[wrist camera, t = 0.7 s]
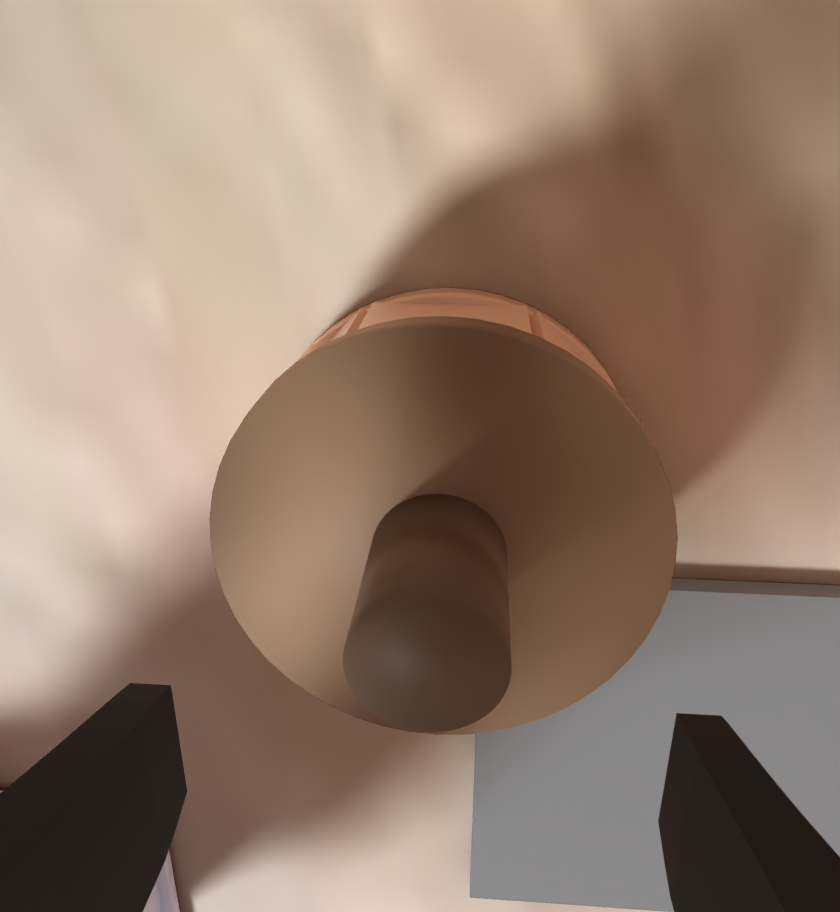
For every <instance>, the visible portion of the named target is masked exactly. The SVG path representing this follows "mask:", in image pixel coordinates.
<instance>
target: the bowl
mask: <svg viewBox="0 0 840 912" xmlns="http://www.w3.org/2000/svg"><path fill="white" fill-rule="evenodd" d="M430 316H451V317H463V318H474V319H480V320H485V321H489V322H494V323H499V324H503V325H508V326H511V327H514V328H517V329H519V330H522V331H525V332H528V333H530V334H533V335H536V336H539V337H541V338H543V339H545V340H547V341H549V342H551V343H553V344H554V345H556V346H558V347H560V348H562V349H564V350H566V351H568V352H569V353H571V354H572V355H574V356H575V357H577V358H578V359H579V360H581V361H582V362H584V363H585V364H587V365H588V366H589V367H591V368H592V369H594V370H595V371H596V372H597V373H598V374H599V375H600V376H601V377H602V378H603V379H604V380H606V381H607V382H608V383H609V384H610V385H611V386H612V387H613V388H614V389H615V390H616V388H615V386H614V384H613V382H612V381H611V379H610V377H609V376H608V374H607V372H606V371H605V369H604V367H603V366H602V364H601V363H600V362H599V361H598V359H597V358H596V357H595V356H594V354H593V353H592V352H591V351H590V350H589V348H588V347H587V346H586V345H585V344H584V343H583V342H581V341H580V340H579V339H578V338H577V337H576V336H575V335H574V334H573V333H572V332H571V331H570V330H568V329H567V328H566V327H564V326H563V325H561V324H560V323H558V322H557V321H556V320H554V319H553V318H551V317H550V316H548V315H546V314H544V313H543V312H541V311H539V310H537V309H535V308H533V307H531V306H529V305H527V304H525V303H522V302H519V301H516V300H514V299H511V298H508V297H505V296H503V295H498V294H494V293H489V292H485V291H480V290H473V289H461V288H433V289H422V290H416V291H411V292H405V293H400V294H397V295H393V296H390V297H387V298H384V299H381V300H378V301H375V302H373V303H371V304H369V305H367V306H365V307H361V308H360V309H358V310H356V311H354V312H353V313H351V314H350V315H348V316H346V317H345V318H343V319H342V320H340V321H339V322H337V323H336V324H334V325H333V326H332V327H331V328H330V329H328V330H327V331H326V332H325V333H324V334H323V335H322V336H320V337H319V338H318V339H317V340H316V341H315V342H314V343H313V344H312V345H311V347H310V348H309V349H308V350H307V351H306V352H305V354H304V355H303V356H302V357H301V358H300V359H302V358H303V357H305V356H306V355H308V354H309V353H311V352H312V351H314V350H315V349H317V348H318V347H320V346H321V345H324V344H326V343H328V342H330V341H332V340H334V339H336V338H338V337H341V336H343V335H345V334H347V333H349V332H352V331H355V330H358V329H362V328H365V327H368V326H371V325H374V324H378V323H382V322H387V321H393V320H399V319H404V318H410V317H430ZM616 391H617V390H616Z"/></svg>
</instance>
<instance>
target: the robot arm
mask: <svg viewBox="0 0 840 912" xmlns="http://www.w3.org/2000/svg"><path fill="white" fill-rule="evenodd" d="M186 793H187V788H186V782H185V775H184V769H183V762H182V756H181V749H180V742H179V736H178V729H177V723H176V716H175V710H174V703H173V697H172V690H171V686H170V685H152V684H134V683H130V684H129V685H128V686H126V687H125V688H124V689H123V690H121V691H120V692H119V693H118V694H117V695H116V696H114V697H113V698H112V699H111V700H110V701H109V702H107V703H106V704H105V705H104V706H103V707H102V708H100V709H99V710H98V711H97V712H96V713H95V714H93V715H92V716H91V717H90V718H89V719H88V720H87V721H85V722H84V723H83V724H82V725H81V726H80V727H78V728H77V729H76V730H75V731H74V732H73V733H71V734H70V735H69V736H68V737H67V738H66V739H65V740H63V741H62V742H61V743H60V744H59V745H58V746H56V747H55V748H54V749H53V750H52V751H51V752H49V753H48V754H47V755H46V756H45V757H43V758H42V759H41V760H40V761H39V762H37V763H36V764H35V765H34V766H33V767H31V768H30V769H29V770H28V771H27V772H25V773H24V774H23V775H22V776H21V777H20V778H18V779H17V780H16V781H15V782H14V783H12V784H11V785H10V786H9V787H8V788H6V789H5V790H4V791H1V790H0V912H180V910H179V904H178V898H177V893H176V887H175V881H174V875H173V869H172V864H171V858H170V852H169V847H170V844H171V841H172V838H173V835H174V832H175V829H176V826H177V823H178V819H179V816H180V813H181V809H182V806H183V803H184V799H185V796H186ZM658 823H659V830H660V837H661V843H662V850H663V856H664V863H665V869H666V875H667V881H668V887H669V893H670V898H671V902H672V905H673V909H674V912H840V857H839V855H838V854H837V853H836V852H835V851H834V850H833V849H832V847H831V846H830V845H829V844H828V843H827V842H826V841H825V839H824V838H823V837H822V836H821V835H820V834H819V833H818V831H817V830H816V829H815V828H814V827H813V826H812V825H811V823H810V822H809V821H808V820H807V819H806V818H805V817H804V815H803V814H802V813H801V812H800V811H799V810H798V808H797V807H796V806H795V805H794V804H793V802H792V801H791V800H790V799H789V798H788V796H787V795H786V794H785V793H784V792H783V790H782V789H781V788H780V787H779V785H778V784H777V783H776V782H775V781H774V779H773V778H772V777H771V776H770V775H769V773H768V772H767V771H766V770H765V768H764V767H763V766H762V765H761V763H760V762H759V761H758V760H757V758H756V757H755V756H754V755H753V753H752V752H751V751H750V750H749V748H748V747H747V746H746V745H745V743H744V742H743V741H742V740H741V738H740V737H739V736H738V735H737V733H736V732H735V731H734V730H733V728H732V727H731V726H730V725H729V723H728V722H727V721H726V720H725V719H724V718H723V717H722V716H720V715H702V714H683V713H676V719H675V725H674V731H673V737H672V743H671V749H670V754H669V760H668V766H667V772H666V778H665V784H664V790H663V796H662V802H661V807H660V813H659V819H658Z"/></svg>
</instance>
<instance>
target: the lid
mask: <svg viewBox="0 0 840 912" xmlns="http://www.w3.org/2000/svg"><path fill="white" fill-rule="evenodd" d="M210 537H211V548H212V553H213V559H214V564H215V569H216V573H217V576H218V579H219V581H220V584H221V587H222V590H223V593H224V596H225V598H226V600H227V602H228V604H229V606H230V608H231V610H232V612H233V614H234V616H235V618H236V619H237V621H238V622H239V624H240V625H241V627H242V628H243V630H244V631H245V633H246V634H247V636H248V637H249V639H250V640H251V641H252V643H253V644H254V645H255V646H256V647H257V648H258V649H259V651H260V652H261V653H262V654H263V655H264V656H265V658H266V659H267V660H268V661H269V662H270V663H271V664H273V665H274V666H275V667H276V668H277V669H278V670H279V671H280V672H281V673H282V674H284V675H285V676H286V677H287V678H288V679H290V680H291V681H292V682H294V683H295V684H296V685H298V686H299V687H301V688H302V689H303V690H305V691H306V692H307V693H309V694H311V695H312V696H314V697H316V698H318V699H319V700H321V701H323V702H325V703H326V704H328V705H330V706H332V707H334V708H336V709H338V710H341V711H343V712H345V713H348V714H350V715H352V716H354V717H357V718H360V719H363V720H366V721H369V722H372V723H375V724H378V725H382V726H386V727H391V728H395V729H400V730H405V731H410V732H420V733H429V734H473V733H483V732H492V731H497V730H502V729H507V728H512V727H517V726H520V725H523V724H526V723H529V722H532V721H536V720H539V719H542V718H544V717H547V716H549V715H551V714H553V713H556V712H558V711H560V710H562V709H565V708H567V707H569V706H570V705H572V704H574V703H575V702H577V701H579V700H580V699H582V698H584V697H586V696H587V695H589V694H591V693H592V692H593V691H594V690H596V689H597V688H598V687H600V686H601V685H602V684H604V683H605V682H606V681H608V680H609V679H610V678H611V677H612V676H613V675H614V674H615V673H616V672H617V671H618V670H620V669H621V668H622V667H623V666H624V665H625V664H626V663H627V662H628V661H629V660H630V659H631V657H632V656H633V655H634V653H635V652H636V651H637V650H638V648H639V647H640V646H641V644H642V643H643V642H644V640H645V639H646V638H647V636H648V634H649V633H650V631H651V629H652V627H653V626H654V624H655V622H656V620H657V619H658V617H659V615H660V613H661V610H662V608H663V605H664V603H665V600H666V598H667V595H668V593H669V590H670V585H671V581H672V577H673V572H674V568H675V563H676V550H677V525H676V512H675V506H674V502H673V498H672V494H671V489H670V485H669V481H668V479H667V476H666V474H665V471H664V469H663V467H662V464H661V462H660V459H659V457H658V454H657V452H656V450H655V448H654V446H653V444H652V442H651V440H650V438H649V436H648V435H647V433H646V431H645V430H644V428H643V426H642V425H641V423H640V421H639V419H638V418H637V416H636V414H635V413H634V412H633V411H632V409H631V408H630V407H629V406H628V404H627V403H626V402H625V401H624V399H623V398H622V397H621V396H620V394H619V393H618V392H617V391H616V390H615V389H614V388H613V387H612V386H611V385H610V384H609V383H608V382H607V381H606V380H604V379H603V378H602V377H601V376H600V375H599V374H598V373H597V372H596V371H595V370H594V369H592V368H591V367H589V366H588V365H587V364H585V363H584V362H582V361H581V360H579V359H578V358H577V357H575V356H574V355H572V354H571V353H569V352H568V351H566V350H564V349H562V348H560V347H558V346H556V345H554V344H553V343H551V342H549V341H547V340H545V339H543V338H541V337H539V336H536V335H533V334H530V333H528V332H525V331H522V330H519V329H517V328H514V327H511V326H508V325H503V324H499V323H494V322H489V321H485V320H480V319H474V318H463V317H451V316H430V317H410V318H404V319H399V320H393V321H387V322H382V323H378V324H374V325H371V326H368V327H365V328H362V329H358V330H355V331H352V332H349V333H347V334H345V335H343V336H341V337H338V338H336V339H334V340H332V341H330V342H328V343H326V344H324V345H321V346H320V347H318V348H317V349H315V350H314V351H312V352H311V353H309V354H308V355H306V356H305V357H303V358H302V359H300V360H298V361H297V362H296V363H294V364H293V365H292V366H291V367H290V368H289V369H288V370H286V371H285V372H284V373H283V374H282V375H281V376H280V377H278V378H277V379H276V380H275V381H274V382H273V383H272V384H271V386H270V387H269V388H268V389H267V390H266V392H265V393H264V394H263V395H262V396H261V397H260V399H259V400H258V401H257V402H256V403H255V405H254V406H253V407H252V409H251V410H250V411H249V412H248V414H247V415H246V416H245V418H244V419H243V421H242V423H241V424H240V426H239V427H238V429H237V431H236V432H235V434H234V435H233V437H232V439H231V440H230V442H229V445H228V447H227V449H226V452H225V454H224V456H223V459H222V461H221V463H220V466H219V469H218V473H217V477H216V481H215V484H214V488H213V492H212V501H211V511H210Z"/></svg>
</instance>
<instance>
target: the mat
mask: <svg viewBox="0 0 840 912" xmlns="http://www.w3.org/2000/svg"><path fill="white" fill-rule="evenodd" d="M676 713H683V714H702V715H720V716H722V717H723V718H724V719H725V720H726V721H727V722H728V723H729V725H730V726H731V727H732V728H733V730H734V731H735V732H736V733H737V735H738V736H739V737H740V738H741V740H742V741H743V742H744V743H745V745H746V746H747V747H748V748H749V750H750V751H751V752H752V753H753V755H754V756H755V757H756V758H757V760H758V761H759V762H760V763H761V765H762V766H763V767H764V768H765V770H766V771H767V772H768V773H769V775H770V776H771V777H772V778H773V779H774V781H775V782H776V783H777V784H778V785H779V787H780V788H781V789H782V790H783V792H784V793H785V794H786V795H787V796H788V798H789V799H790V800H791V801H792V802H793V804H794V805H795V806H796V807H797V808H798V810H799V811H800V812H801V813H802V814H803V815H804V817H805V818H806V819H807V820H808V821H809V822H810V823H811V825H812V826H813V827H814V828H815V829H816V830H817V831H818V833H819V834H820V835H821V836H822V837H823V838H824V839H825V841H826V842H827V843H828V844H829V845H830V846H831V847H832V849H833V850H834V851H835V852H836V853H837V854H838V855H839V857H840V585H821V584H797V583H774V582H751V581H728V580H705V579H681V578H672V581H671V585H670V590H669V593H668V595H667V598H666V600H665V603H664V605H663V608H662V610H661V613H660V615H659V617H658V619H657V620H656V622H655V624H654V626H653V627H652V629H651V631H650V633H649V634H648V636H647V638H646V639H645V640H644V642H643V643H642V644H641V646H640V647H639V648H638V650H637V651H636V652H635V653H634V655H633V656H632V657H631V659H630V660H629V661H628V662H627V663H626V664H625V665H624V666H623V667H622V668H621V669H620V670H618V671H617V672H616V673H615V674H614V675H613V676H612V677H611V678H610V679H609V680H608V681H606V682H605V683H604V684H602V685H601V686H600V687H598V688H597V689H596V690H594V691H593V692H592V693H591V694H589V695H587V696H586V697H584V698H582V699H580V700H579V701H577V702H575V703H574V704H572V705H570V706H569V707H567V708H565V709H562V710H560V711H558V712H556V713H553V714H551V715H549V716H547V717H544V718H542V719H539V720H536V721H532V722H529V723H526V724H523V725H520V726H517V727H512V728H507V729H502V730H497V731H492V732H483V733H476V750H475V774H474V799H473V823H472V848H471V872H470V898H483V899H498V900H512V901H526V902H540V903H554V904H568V905H582V906H596V907H610V908H625V909H639V910H653V911H667V912H674V909H673V905H672V902H671V898H670V893H669V887H668V881H667V875H666V869H665V863H664V856H663V850H662V843H661V837H660V830H659V823H658V819H659V813H660V807H661V802H662V796H663V790H664V784H665V778H666V772H667V766H668V760H669V754H670V749H671V743H672V737H673V731H674V725H675V719H676Z"/></svg>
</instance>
